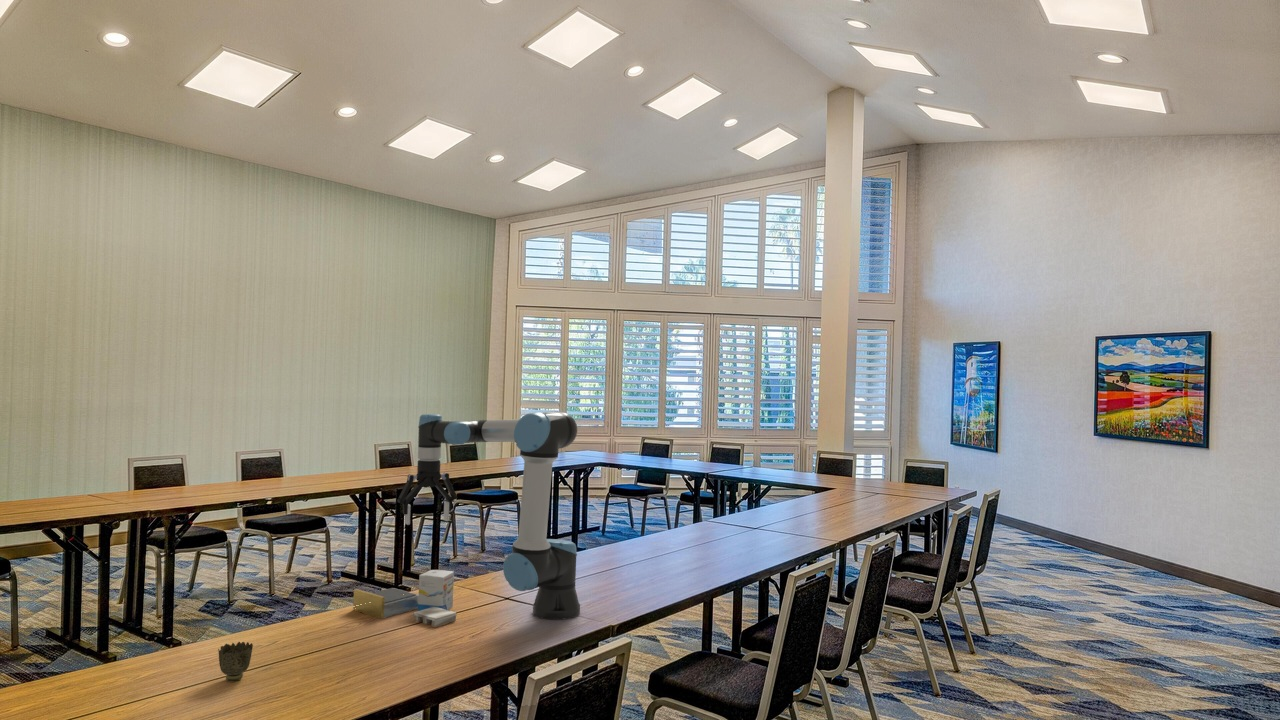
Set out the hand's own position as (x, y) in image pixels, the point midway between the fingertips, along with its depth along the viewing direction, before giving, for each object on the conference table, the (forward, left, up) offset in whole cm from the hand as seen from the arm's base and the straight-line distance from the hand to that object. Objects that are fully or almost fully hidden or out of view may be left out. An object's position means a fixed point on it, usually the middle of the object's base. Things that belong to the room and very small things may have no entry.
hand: (427, 522), depth 263 cm
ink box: (-14, +7, -25) cm, 30 cm away
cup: (-22, +76, -25) cm, 83 cm away
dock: (-2, +16, -25) cm, 30 cm away
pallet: (-23, +15, -25) cm, 37 cm away
